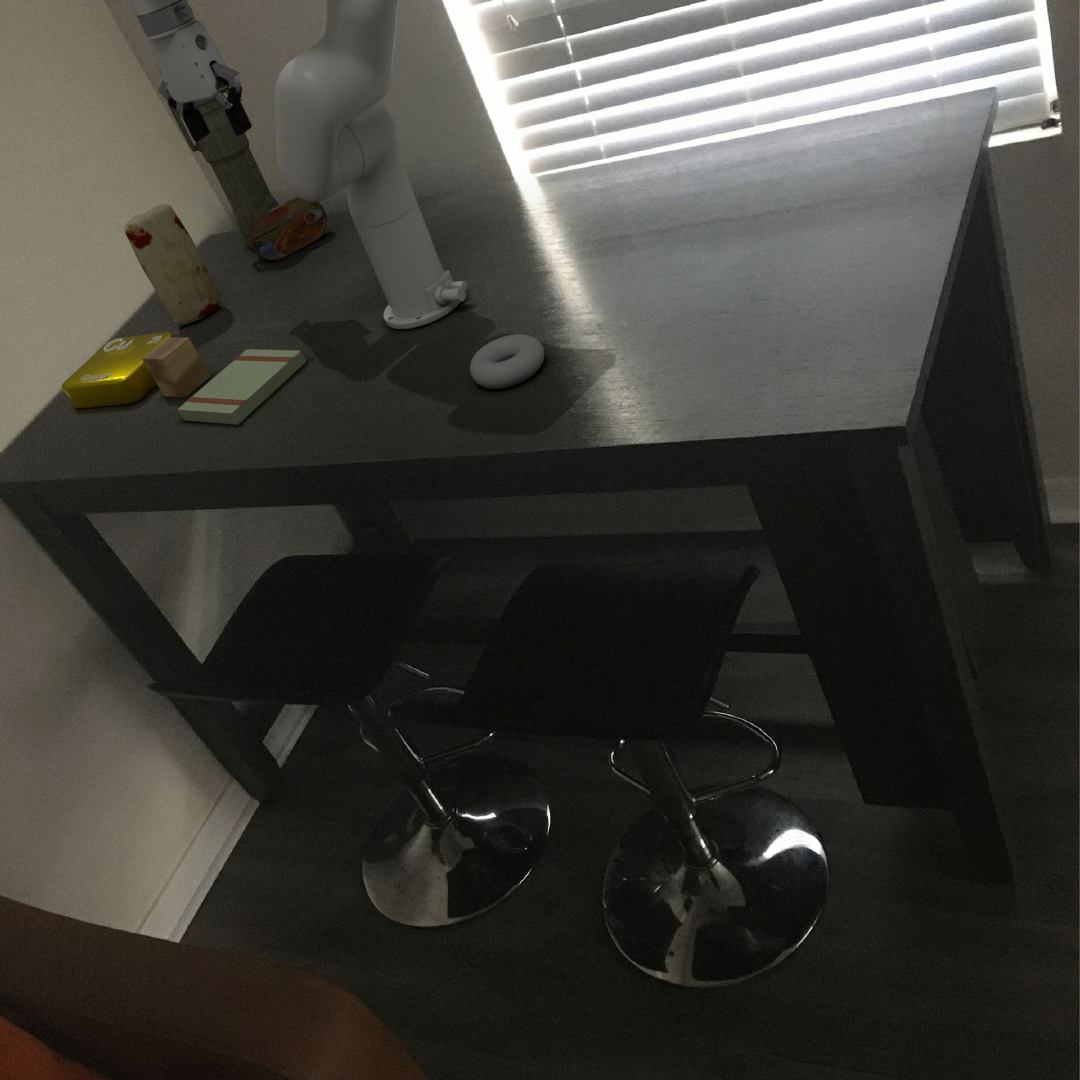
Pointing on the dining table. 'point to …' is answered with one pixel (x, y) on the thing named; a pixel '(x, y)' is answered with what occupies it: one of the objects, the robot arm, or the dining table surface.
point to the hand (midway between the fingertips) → (223, 134)
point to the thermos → (231, 164)
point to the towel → (242, 386)
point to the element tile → (115, 373)
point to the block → (176, 367)
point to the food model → (172, 264)
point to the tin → (287, 228)
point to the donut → (507, 361)
